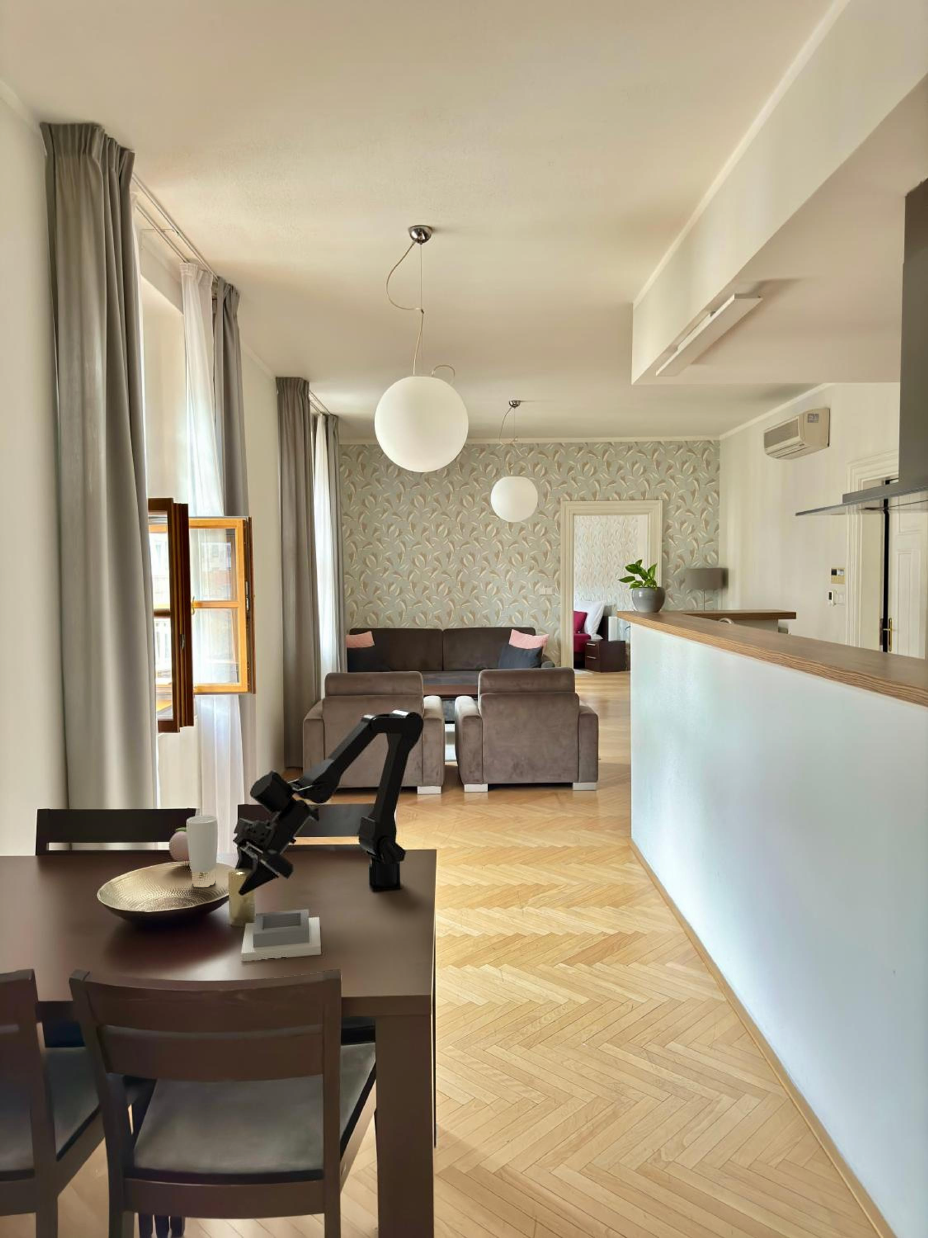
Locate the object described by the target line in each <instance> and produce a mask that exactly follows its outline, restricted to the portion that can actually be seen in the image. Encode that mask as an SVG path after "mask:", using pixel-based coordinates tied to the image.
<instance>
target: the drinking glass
mask: <svg viewBox="0 0 928 1238" xmlns="http://www.w3.org/2000/svg"><path fill="white" fill-rule="evenodd" d="M185 828H186V834H187V846H188V854H189V862H190V866H189V869H191V870H193V871H195V872H204V871H211V870H213V869H214V868H215V866H216V867H217V857H218V845H219V842H218V841H219V823H218V817H217V816H215V815H211V814H204V815H203V814H202V815H195V816H191V817H189V818H187V819H186V827H185Z"/></svg>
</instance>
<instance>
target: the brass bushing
mask: <svg viewBox="0 0 928 1238" xmlns="http://www.w3.org/2000/svg"><path fill="white" fill-rule="evenodd" d="M251 870H252V869H250V868H240V869H235V868H234V869H232V870H230V871H228V873H227V875H228V876H227V878H228V881H227V882H228V884H229V886H228V909H229V911H228V914H229V915H228V916H229V917H228V918H229V925H230V926H233V927H236V928H237V927H239V928H240V927H245V926H246V923H255V915H256V898H255V897H256V895H255V894H256V893H255V890H256V889H254V890H252V891H250V892H248V893H247V894H245V895H243V896H241V895H240V894H239V893H238V892H239V890H240V888H241V886H242V885H243V883H244V881H245V880H246V878H247V877H248V875H249V874H250V872H251Z"/></svg>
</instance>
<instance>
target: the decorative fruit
mask: <svg viewBox="0 0 928 1238" xmlns="http://www.w3.org/2000/svg"><path fill="white" fill-rule="evenodd" d="M174 832H175V833H174V834H173V835H172V836H171V838H170V840H169V842H168V850H169V854H170V855H171V857H172V858H173V860H175V861H176V860H177V861H176V862H178V861H189V854H188V846H187V834H186V827H179V828H175V831H174Z"/></svg>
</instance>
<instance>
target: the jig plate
mask: <svg viewBox="0 0 928 1238" xmlns="http://www.w3.org/2000/svg"><path fill="white" fill-rule="evenodd" d="M309 913H310V911H309V908H308V909H307V908H306V909H296V910H284V911H281V910H280V911H269V912H262V913H261V912H260V913H259V912H258V913H255V922H254V923H246V926H244V927H245V928H244V933H243V939H242V945H241V953H240V955H241V956H240V957H241V959H240V961H241V962H251V961H252V960H254V961H261V959H265V960H269V959H268V958H275V959H282V958H281V957H286V958H296V957H307V956H315V955H318V956H319V955H321V954H322V953H321V952H322V948H321V947H322V946H321V945H322V944H321V929H320V926H321V925H320V917H319V916H316V917H309ZM252 962H253V961H252Z"/></svg>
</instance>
